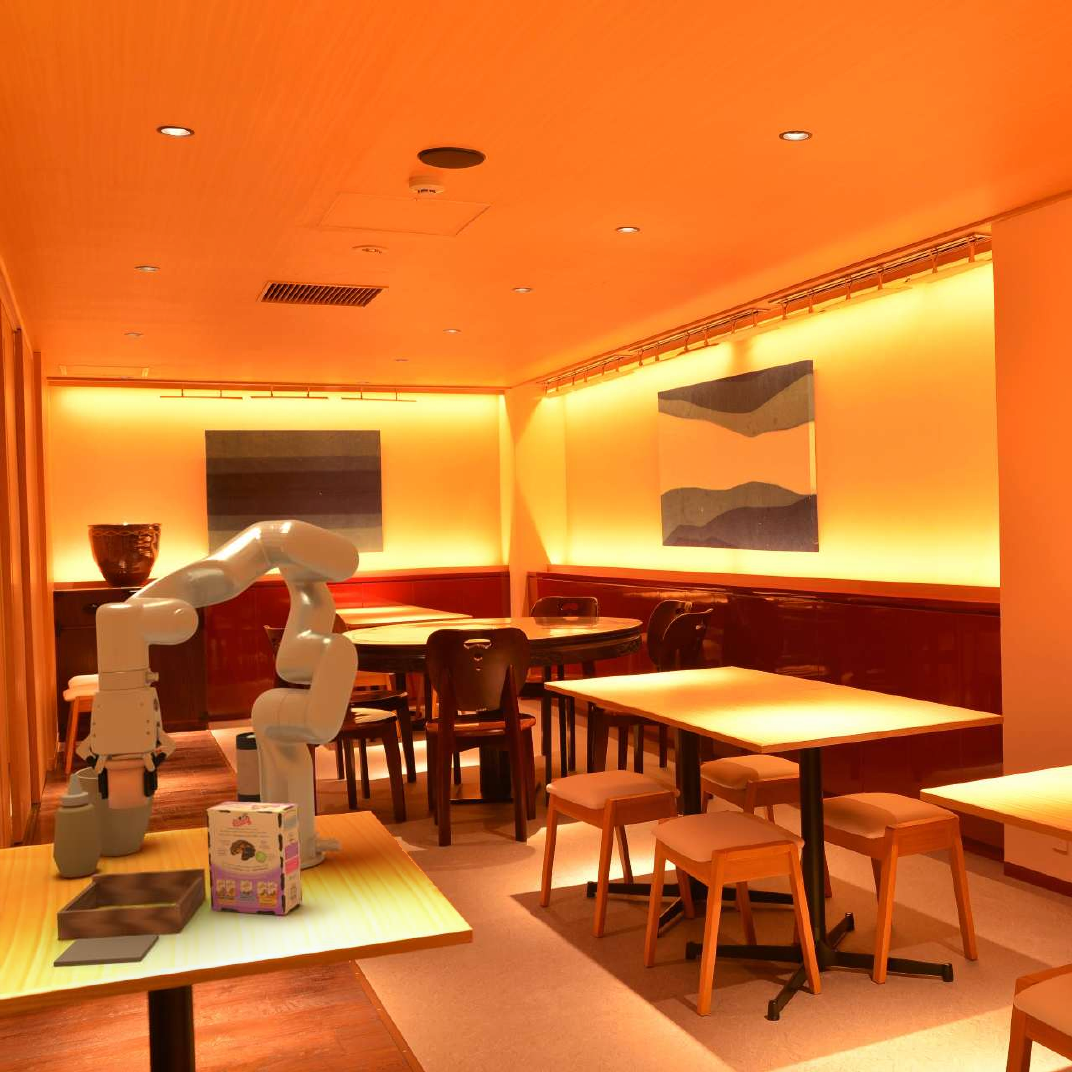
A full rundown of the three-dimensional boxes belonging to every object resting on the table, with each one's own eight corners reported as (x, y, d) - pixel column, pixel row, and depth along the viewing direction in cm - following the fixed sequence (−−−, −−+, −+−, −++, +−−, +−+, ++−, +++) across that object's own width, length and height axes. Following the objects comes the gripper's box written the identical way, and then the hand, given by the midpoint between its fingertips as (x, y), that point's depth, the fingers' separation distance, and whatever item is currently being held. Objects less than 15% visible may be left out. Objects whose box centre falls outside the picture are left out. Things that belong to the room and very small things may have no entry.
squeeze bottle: (110, 866, 206) (106, 769, 206) (88, 880, 198) (84, 778, 198) (68, 867, 207) (64, 770, 207) (44, 880, 199) (40, 779, 199)
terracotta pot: (157, 798, 179) (155, 753, 179) (144, 808, 172) (142, 761, 172) (114, 800, 179) (112, 755, 179) (99, 810, 172) (97, 763, 172)
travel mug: (242, 829, 229) (238, 732, 229) (280, 827, 230) (276, 730, 230) (236, 839, 222) (231, 738, 222) (275, 837, 222) (271, 736, 222)
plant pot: (78, 847, 221) (75, 766, 221) (158, 837, 226) (154, 758, 226) (78, 867, 207) (74, 780, 207) (163, 855, 213) (159, 771, 213)
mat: (158, 938, 167) (158, 934, 167) (140, 961, 158) (140, 957, 158) (76, 943, 166) (76, 939, 166) (53, 966, 157) (53, 962, 157)
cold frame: (205, 898, 185) (204, 868, 185) (179, 932, 169) (178, 899, 169) (95, 905, 184) (93, 874, 184) (58, 939, 168) (56, 906, 168)
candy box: (304, 904, 180) (299, 802, 180) (284, 917, 174) (280, 811, 174) (230, 899, 184) (226, 799, 184) (209, 910, 179) (204, 807, 179)
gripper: (186, 676, 180) (190, 788, 180) (77, 680, 179) (81, 793, 179) (172, 681, 172) (177, 799, 172) (59, 686, 172) (63, 804, 172)
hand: (128, 795), depth 176 cm, fingers closed on terracotta pot, 6 cm apart
